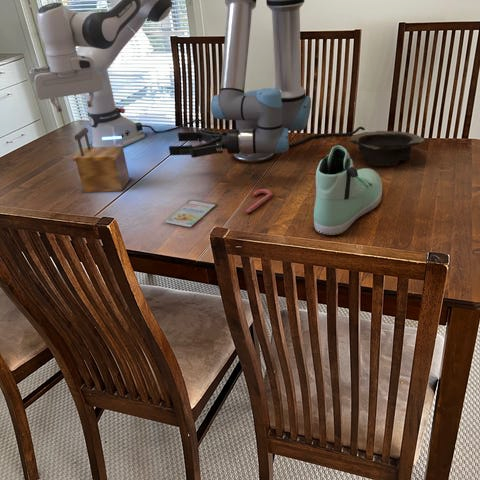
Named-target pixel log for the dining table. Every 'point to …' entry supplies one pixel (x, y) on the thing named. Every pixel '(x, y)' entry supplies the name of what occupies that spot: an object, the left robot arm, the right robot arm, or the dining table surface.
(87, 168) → the chest
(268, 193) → the candy cane
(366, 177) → the sneaker
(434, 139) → the dining table surface
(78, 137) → the lid
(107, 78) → the left robot arm
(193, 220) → the baking ingredient package
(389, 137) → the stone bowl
